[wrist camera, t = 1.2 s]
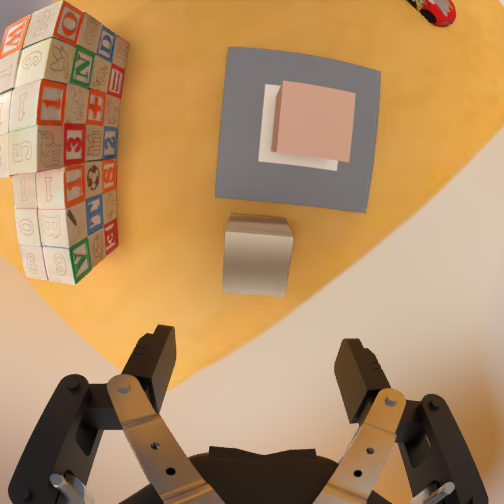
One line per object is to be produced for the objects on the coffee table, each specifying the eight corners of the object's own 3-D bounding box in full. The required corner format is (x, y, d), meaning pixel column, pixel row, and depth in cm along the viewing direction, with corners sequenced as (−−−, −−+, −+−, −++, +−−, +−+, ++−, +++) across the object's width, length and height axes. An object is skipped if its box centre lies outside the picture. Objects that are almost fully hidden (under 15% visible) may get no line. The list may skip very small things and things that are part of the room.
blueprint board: (229, 49, 21) (228, 46, 20) (377, 73, 21) (381, 71, 20) (216, 196, 26) (214, 197, 25) (362, 211, 26) (365, 213, 25)
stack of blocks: (120, 246, 28) (55, 306, 16) (74, 242, 28) (3, 293, 16) (130, 42, 20) (63, -3, 9) (79, 52, 20) (4, 25, 9)
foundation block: (276, 95, 22) (283, 80, 16) (332, 104, 22) (355, 93, 16) (270, 151, 24) (276, 152, 18) (327, 158, 24) (349, 162, 18)
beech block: (231, 212, 27) (225, 231, 21) (285, 217, 27) (293, 237, 21) (228, 262, 28) (222, 292, 23) (278, 266, 28) (284, 296, 23)
